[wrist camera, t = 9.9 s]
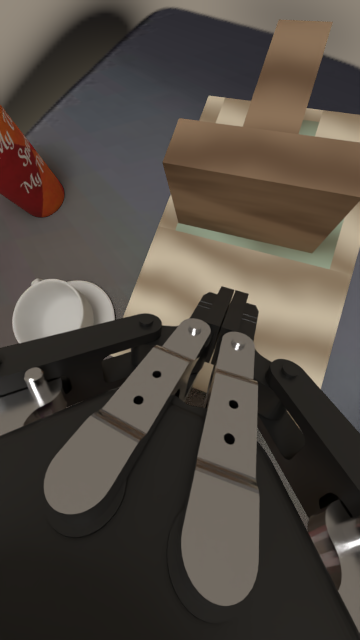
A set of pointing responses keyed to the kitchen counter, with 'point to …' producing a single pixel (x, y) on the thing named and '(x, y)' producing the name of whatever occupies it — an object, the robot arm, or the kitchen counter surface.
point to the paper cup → (26, 173)
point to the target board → (256, 267)
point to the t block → (268, 157)
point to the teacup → (59, 308)
